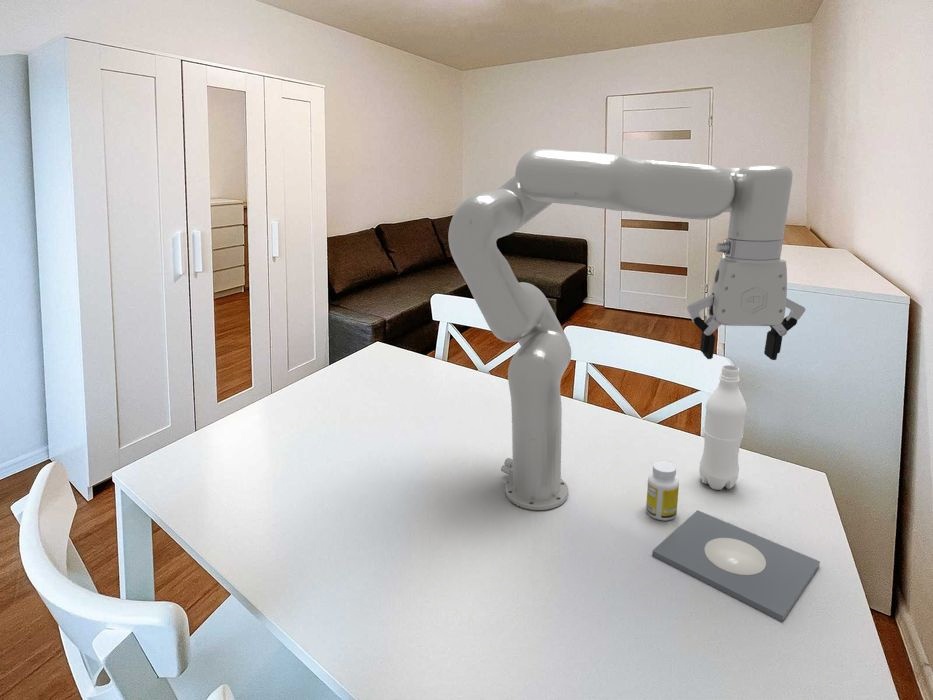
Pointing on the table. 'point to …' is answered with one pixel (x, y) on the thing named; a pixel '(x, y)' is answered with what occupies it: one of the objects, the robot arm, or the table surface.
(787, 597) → the slate board
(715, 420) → the water bottle
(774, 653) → the table surface
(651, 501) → the supplement bottle
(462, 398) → the table surface
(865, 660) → the table surface
